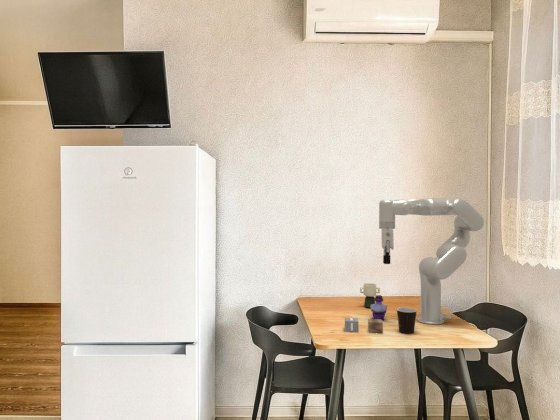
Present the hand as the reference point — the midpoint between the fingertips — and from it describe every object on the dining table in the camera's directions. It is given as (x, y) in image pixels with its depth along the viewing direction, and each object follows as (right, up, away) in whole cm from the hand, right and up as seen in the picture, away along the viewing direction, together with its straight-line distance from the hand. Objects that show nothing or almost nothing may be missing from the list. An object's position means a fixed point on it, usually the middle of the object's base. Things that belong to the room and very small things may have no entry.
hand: (386, 263), depth 215 cm
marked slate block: (-19, -29, -11) cm, 36 cm away
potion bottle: (-2, -29, +9) cm, 31 cm away
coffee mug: (+5, -30, -14) cm, 33 cm away
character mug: (-1, -29, +35) cm, 45 cm away
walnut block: (-8, -29, -13) cm, 33 cm away
